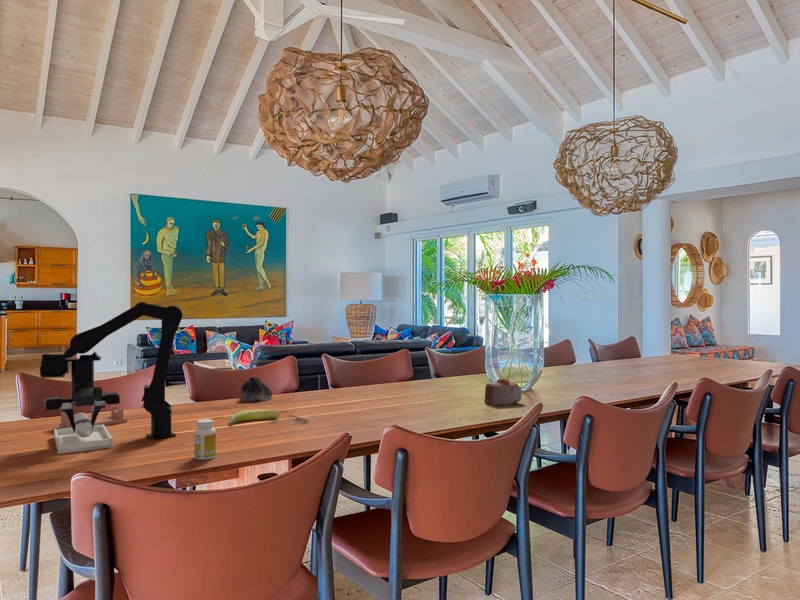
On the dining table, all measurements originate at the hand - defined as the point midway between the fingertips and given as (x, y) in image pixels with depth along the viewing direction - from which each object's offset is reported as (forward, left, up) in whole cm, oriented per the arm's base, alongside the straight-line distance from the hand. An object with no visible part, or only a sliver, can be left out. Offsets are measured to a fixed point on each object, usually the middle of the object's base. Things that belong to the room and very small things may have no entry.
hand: (82, 430), depth 170 cm
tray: (0, 0, -3) cm, 3 cm away
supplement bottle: (-39, -17, -4) cm, 43 cm away
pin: (+1, 0, 0) cm, 1 cm away
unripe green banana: (-10, -50, -4) cm, 51 cm away
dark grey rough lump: (+25, -74, -4) cm, 78 cm away
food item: (-53, -137, -4) cm, 147 cm away
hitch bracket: (+21, -10, -3) cm, 24 cm away
